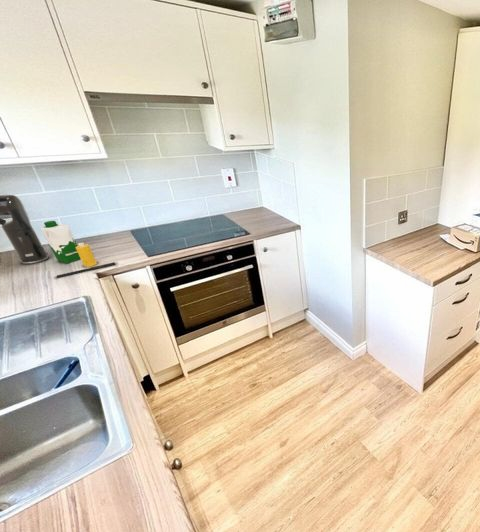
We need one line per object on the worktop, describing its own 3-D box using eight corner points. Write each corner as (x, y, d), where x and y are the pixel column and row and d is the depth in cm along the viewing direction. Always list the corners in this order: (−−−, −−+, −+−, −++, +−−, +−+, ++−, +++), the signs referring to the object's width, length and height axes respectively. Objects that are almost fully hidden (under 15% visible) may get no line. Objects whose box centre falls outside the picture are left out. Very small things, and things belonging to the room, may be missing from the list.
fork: (57, 276, 149) (56, 275, 149) (114, 263, 162) (114, 262, 162) (57, 278, 147) (56, 277, 147) (115, 264, 160) (115, 263, 160)
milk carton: (75, 254, 169) (57, 218, 160) (86, 257, 167) (69, 221, 157) (54, 261, 162) (35, 224, 152) (66, 264, 159) (47, 226, 150)
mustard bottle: (84, 264, 160) (73, 243, 155) (96, 261, 163) (87, 240, 158) (84, 267, 157) (74, 246, 152) (97, 264, 160) (87, 243, 155)
